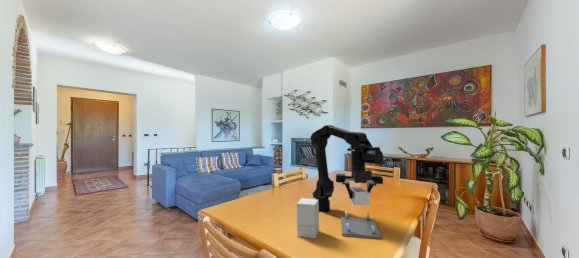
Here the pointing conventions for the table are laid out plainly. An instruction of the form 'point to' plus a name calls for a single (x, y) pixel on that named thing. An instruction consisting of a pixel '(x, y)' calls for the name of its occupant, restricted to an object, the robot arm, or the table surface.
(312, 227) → the supplement box
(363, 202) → the block
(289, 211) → the table surface
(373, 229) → the pin tray
